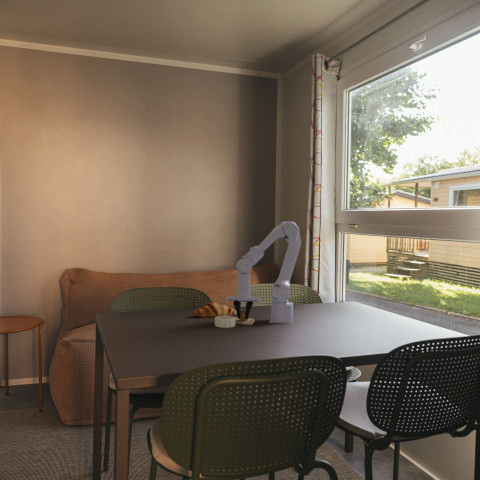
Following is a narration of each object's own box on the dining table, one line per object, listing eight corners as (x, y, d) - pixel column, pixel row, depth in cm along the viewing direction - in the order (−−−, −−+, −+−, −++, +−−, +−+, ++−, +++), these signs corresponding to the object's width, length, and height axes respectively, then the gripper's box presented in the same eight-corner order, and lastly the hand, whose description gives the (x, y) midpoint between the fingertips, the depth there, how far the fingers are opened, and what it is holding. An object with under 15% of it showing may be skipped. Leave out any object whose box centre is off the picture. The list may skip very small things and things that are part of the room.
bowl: (237, 324, 190) (237, 316, 190) (232, 329, 182) (232, 320, 182) (217, 323, 192) (218, 315, 192) (212, 327, 184) (212, 319, 184)
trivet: (255, 321, 197) (255, 320, 197) (251, 325, 189) (251, 324, 189) (234, 320, 199) (234, 319, 199) (230, 324, 191) (230, 323, 191)
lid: (253, 320, 197) (254, 309, 197) (250, 324, 189) (250, 313, 189) (236, 319, 198) (236, 308, 198) (232, 323, 191) (232, 312, 190)
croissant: (235, 321, 213) (233, 305, 216) (241, 315, 205) (239, 298, 208) (191, 323, 206) (189, 306, 210) (195, 316, 198) (194, 299, 201)
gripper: (261, 286, 196) (261, 317, 196) (229, 285, 199) (228, 315, 199) (259, 289, 189) (258, 321, 189) (225, 287, 192) (225, 319, 192)
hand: (243, 318), depth 194 cm, fingers open, 3 cm apart
